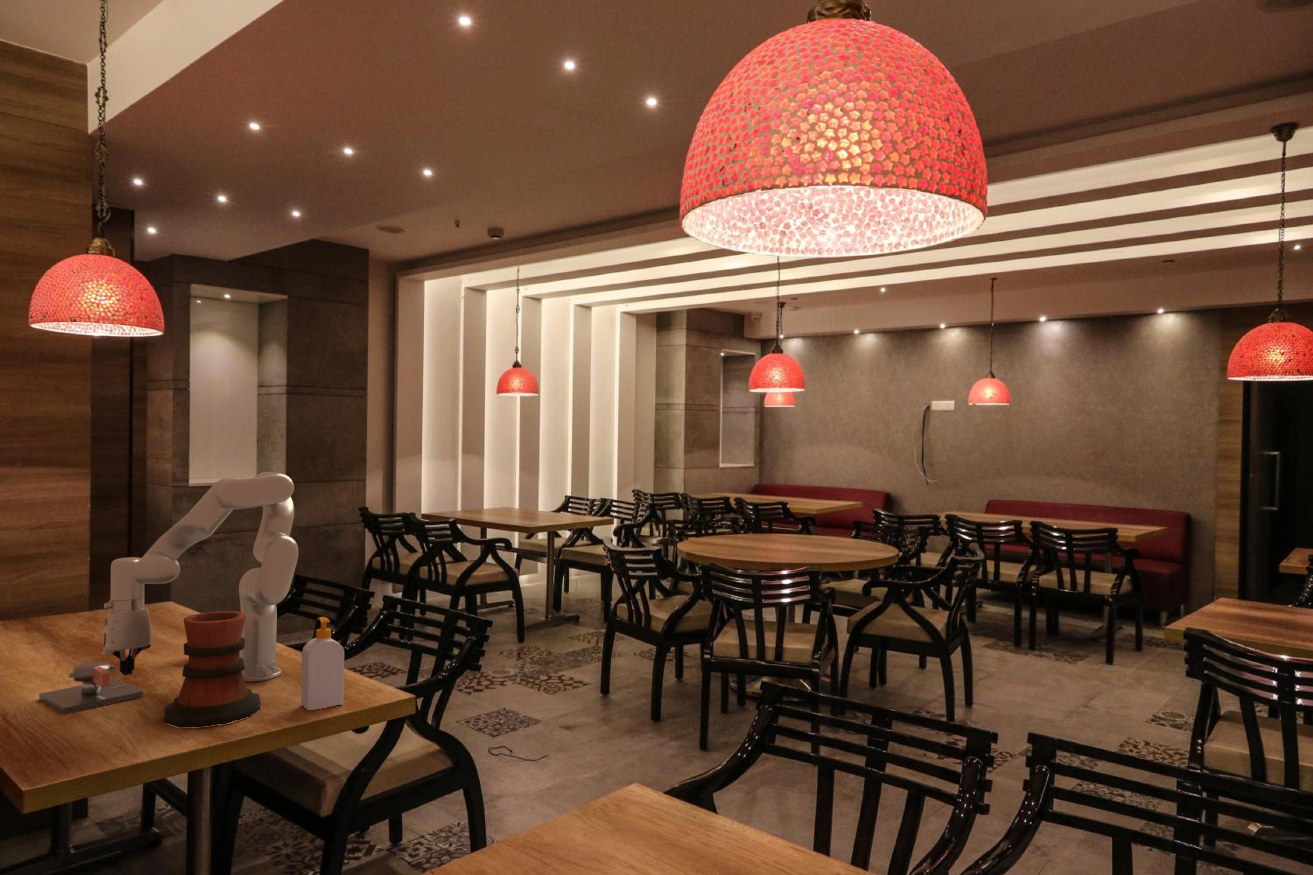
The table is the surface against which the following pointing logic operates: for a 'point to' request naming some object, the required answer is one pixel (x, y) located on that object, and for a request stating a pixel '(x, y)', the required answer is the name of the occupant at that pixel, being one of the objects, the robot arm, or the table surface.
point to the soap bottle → (322, 670)
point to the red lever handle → (92, 673)
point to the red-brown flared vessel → (213, 673)
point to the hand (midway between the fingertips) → (126, 673)
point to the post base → (89, 695)
